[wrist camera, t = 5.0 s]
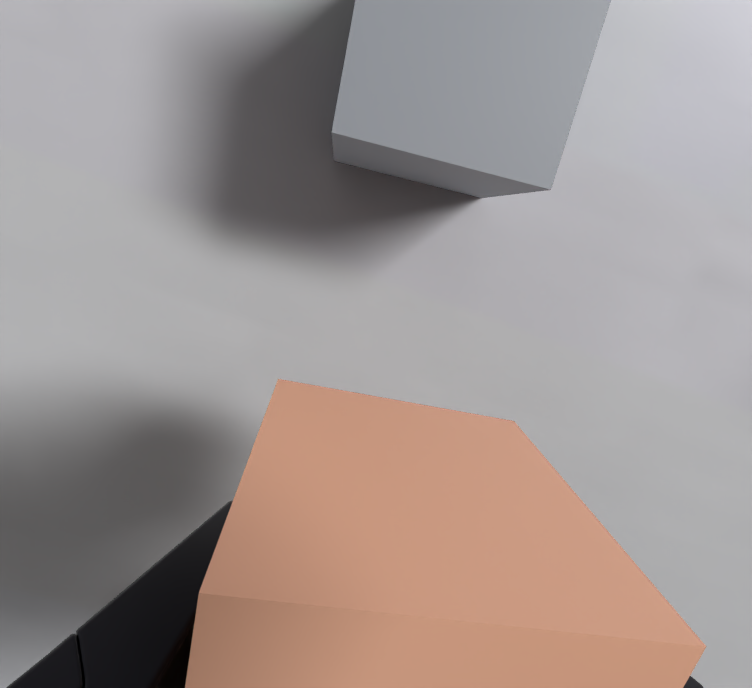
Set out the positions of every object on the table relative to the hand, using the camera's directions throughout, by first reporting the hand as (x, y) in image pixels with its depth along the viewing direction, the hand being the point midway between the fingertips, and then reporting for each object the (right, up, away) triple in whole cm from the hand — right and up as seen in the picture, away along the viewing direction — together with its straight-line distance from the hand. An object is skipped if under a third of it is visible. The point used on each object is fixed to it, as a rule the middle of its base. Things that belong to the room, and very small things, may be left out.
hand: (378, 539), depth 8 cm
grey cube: (+2, +12, +5) cm, 13 cm away
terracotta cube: (0, 0, +1) cm, 1 cm away
